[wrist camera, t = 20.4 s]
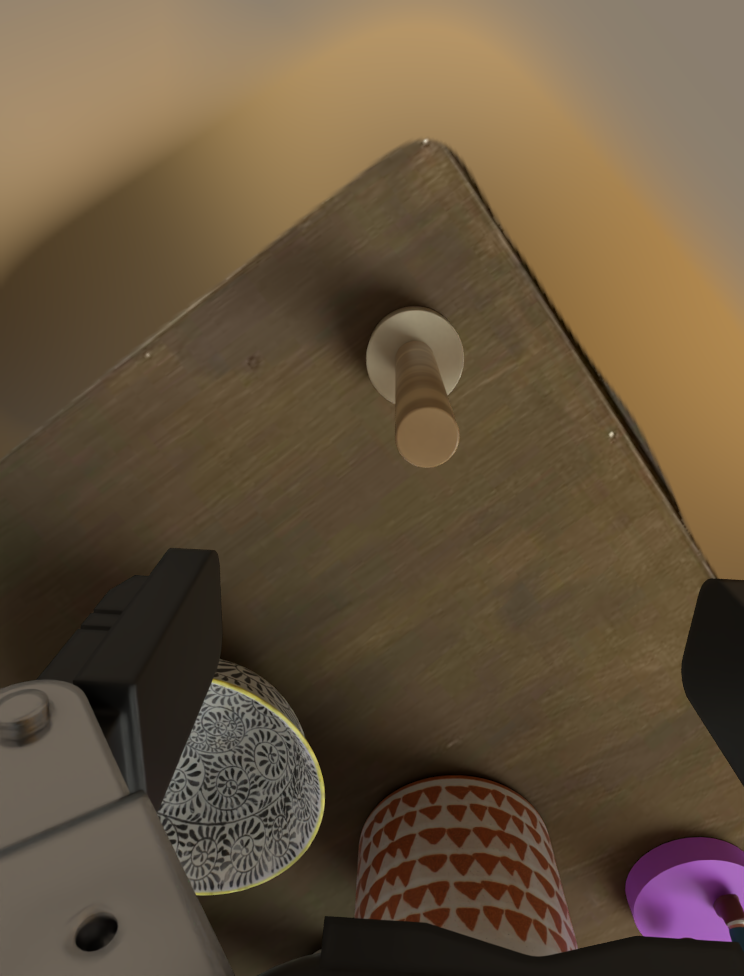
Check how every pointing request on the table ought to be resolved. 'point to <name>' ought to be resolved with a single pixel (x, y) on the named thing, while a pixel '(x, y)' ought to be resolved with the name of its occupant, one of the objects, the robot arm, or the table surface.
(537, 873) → the plant pot
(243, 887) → the bowl
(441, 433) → the wooden peg stand
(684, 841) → the figurine
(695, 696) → the robot arm
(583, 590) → the table surface
